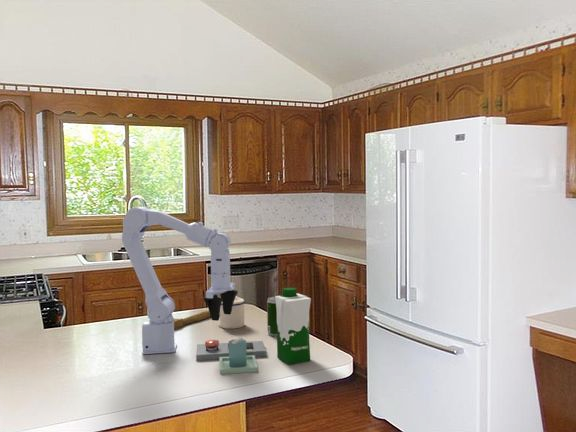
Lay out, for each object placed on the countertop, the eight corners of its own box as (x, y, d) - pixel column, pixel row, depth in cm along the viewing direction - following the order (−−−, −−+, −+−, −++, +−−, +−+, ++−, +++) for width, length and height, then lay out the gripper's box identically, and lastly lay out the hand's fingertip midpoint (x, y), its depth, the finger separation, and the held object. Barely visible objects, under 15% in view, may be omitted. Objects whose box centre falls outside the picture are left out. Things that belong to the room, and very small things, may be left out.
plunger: (205, 355, 151) (205, 344, 151) (205, 351, 155) (205, 340, 155) (219, 354, 152) (218, 343, 152) (218, 350, 156) (218, 339, 156)
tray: (220, 374, 137) (219, 369, 137) (219, 361, 147) (219, 357, 147) (257, 371, 139) (257, 367, 138) (254, 359, 148) (254, 355, 148)
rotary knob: (240, 368, 139) (240, 343, 139) (225, 366, 142) (225, 340, 141) (249, 363, 144) (249, 338, 143) (235, 360, 146) (234, 336, 145)
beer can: (273, 337, 170) (272, 301, 169) (264, 333, 174) (264, 298, 173) (286, 334, 173) (286, 298, 172) (278, 330, 177) (277, 296, 176)
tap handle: (216, 309, 198) (156, 327, 173) (216, 317, 198) (156, 336, 173) (210, 308, 200) (149, 326, 175) (210, 316, 200) (150, 335, 175)
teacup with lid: (250, 324, 186) (249, 292, 185) (235, 330, 178) (234, 297, 177) (223, 320, 192) (222, 289, 191) (207, 326, 184) (206, 293, 183)
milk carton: (299, 352, 154) (298, 285, 153) (315, 361, 146) (314, 291, 145) (273, 357, 150) (272, 288, 149) (287, 366, 142) (286, 294, 141)
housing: (196, 360, 148) (196, 355, 148) (197, 349, 158) (197, 344, 158) (266, 356, 151) (266, 350, 151) (262, 345, 161) (262, 340, 161)
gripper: (220, 277, 148) (221, 324, 149) (243, 269, 162) (244, 312, 163) (199, 276, 151) (200, 322, 152) (223, 268, 164) (224, 310, 165)
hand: (221, 317), depth 157 cm, fingers open, 7 cm apart
